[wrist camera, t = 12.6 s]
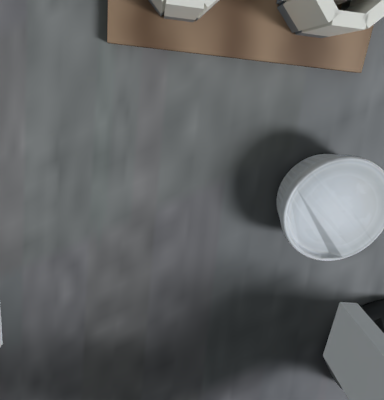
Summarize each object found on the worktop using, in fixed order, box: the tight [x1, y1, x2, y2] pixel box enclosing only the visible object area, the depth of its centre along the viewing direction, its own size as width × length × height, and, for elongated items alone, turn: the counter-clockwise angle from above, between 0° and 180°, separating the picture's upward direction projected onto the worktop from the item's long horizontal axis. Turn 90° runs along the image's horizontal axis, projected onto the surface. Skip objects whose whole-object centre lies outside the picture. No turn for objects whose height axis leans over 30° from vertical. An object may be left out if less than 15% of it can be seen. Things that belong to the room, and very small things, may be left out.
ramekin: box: [276, 154, 384, 261], centre depth 36 cm, size 11×11×5 cm
